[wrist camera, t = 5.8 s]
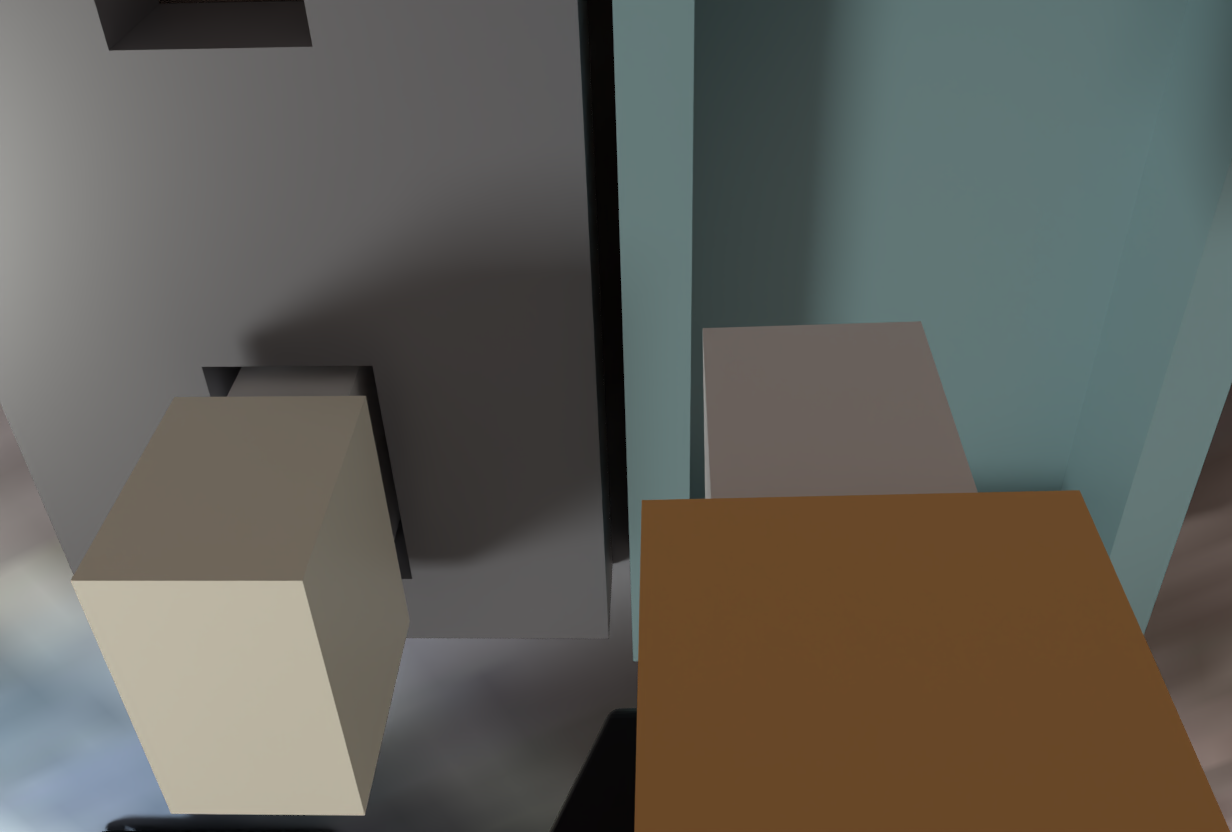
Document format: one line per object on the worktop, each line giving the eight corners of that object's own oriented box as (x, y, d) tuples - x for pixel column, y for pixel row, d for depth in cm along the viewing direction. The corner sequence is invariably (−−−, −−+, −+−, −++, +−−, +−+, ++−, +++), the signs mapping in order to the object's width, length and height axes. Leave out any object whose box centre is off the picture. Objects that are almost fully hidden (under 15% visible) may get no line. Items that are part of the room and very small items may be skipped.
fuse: (435, 510, 23) (364, 815, 18) (287, 510, 24) (171, 813, 18) (400, 295, 20) (302, 580, 15) (231, 297, 21) (70, 581, 15)
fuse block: (612, 565, 24) (608, 638, 23) (136, 565, 25) (100, 636, 23) (561, -574, 13) (548, -590, 12) (-283, -539, 14) (-408, -549, 12)
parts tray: (1085, 548, 23) (1133, 663, 21) (636, 548, 24) (632, 660, 21) (1314, -250, 15) (1438, -209, 13) (615, -230, 15) (607, -187, 13)
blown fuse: (926, 653, 13) (1127, 1494, 8) (664, 658, 14) (667, 1483, 8) (983, 272, 10) (1381, 1176, 5) (646, 283, 11) (628, 1165, 5)
